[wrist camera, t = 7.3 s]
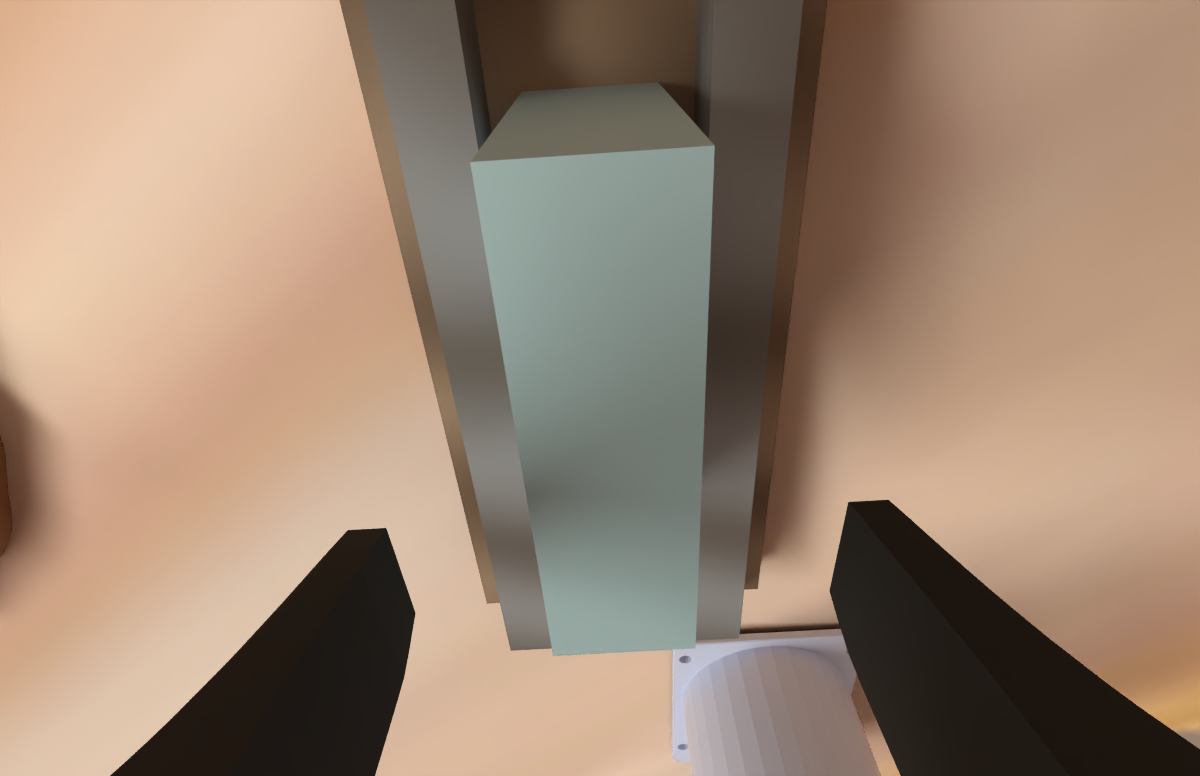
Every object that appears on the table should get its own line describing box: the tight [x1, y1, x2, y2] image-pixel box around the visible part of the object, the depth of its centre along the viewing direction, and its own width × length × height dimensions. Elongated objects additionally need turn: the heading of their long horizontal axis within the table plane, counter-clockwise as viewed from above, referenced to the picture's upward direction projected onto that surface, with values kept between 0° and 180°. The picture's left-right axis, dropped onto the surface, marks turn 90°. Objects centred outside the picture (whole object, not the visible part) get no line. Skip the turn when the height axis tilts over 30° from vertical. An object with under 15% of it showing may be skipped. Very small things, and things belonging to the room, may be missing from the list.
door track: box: [340, 0, 827, 650], centre depth 16 cm, size 22×10×3 cm, turn 3°
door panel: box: [470, 82, 715, 656], centre depth 13 cm, size 10×3×7 cm, turn 3°
